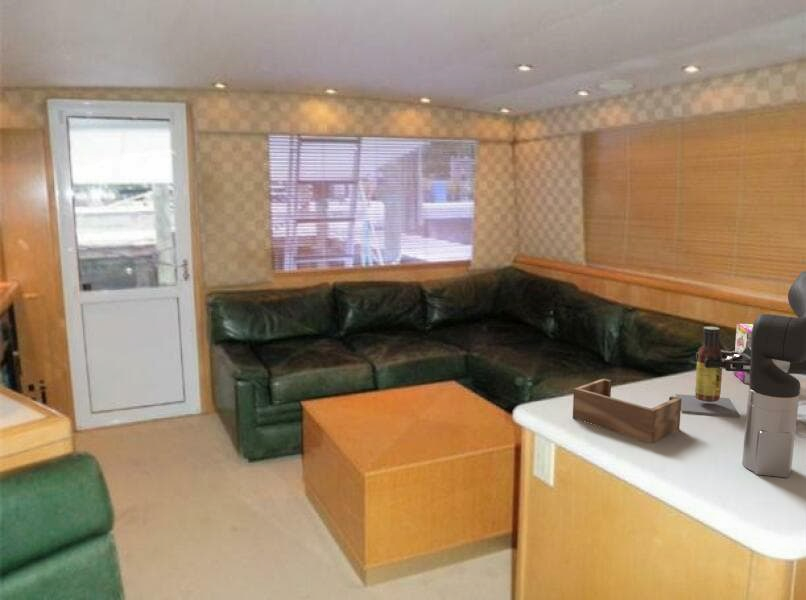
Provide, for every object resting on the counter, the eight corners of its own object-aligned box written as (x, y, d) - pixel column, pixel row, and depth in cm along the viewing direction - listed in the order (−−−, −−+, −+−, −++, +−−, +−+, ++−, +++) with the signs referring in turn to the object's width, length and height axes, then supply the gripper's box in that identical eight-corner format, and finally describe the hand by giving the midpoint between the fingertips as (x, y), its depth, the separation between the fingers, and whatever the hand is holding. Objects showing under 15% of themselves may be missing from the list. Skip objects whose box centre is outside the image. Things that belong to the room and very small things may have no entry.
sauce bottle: (720, 404, 171) (725, 331, 167) (694, 401, 174) (699, 330, 170) (719, 396, 177) (724, 326, 173) (694, 393, 179) (699, 324, 176)
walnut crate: (601, 406, 176) (603, 378, 175) (679, 429, 160) (681, 398, 158) (572, 417, 168) (573, 388, 166) (651, 443, 151) (653, 411, 150)
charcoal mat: (739, 417, 167) (740, 415, 167) (681, 412, 171) (681, 410, 171) (728, 400, 180) (729, 398, 180) (675, 396, 184) (675, 394, 184)
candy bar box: (731, 373, 205) (736, 323, 202) (748, 374, 204) (753, 323, 201) (742, 383, 195) (747, 331, 192) (760, 384, 194) (765, 331, 191)
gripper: (755, 340, 178) (692, 339, 180) (779, 354, 164) (711, 353, 166) (753, 366, 179) (690, 365, 181) (777, 382, 165) (709, 381, 167)
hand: (700, 359), depth 173 cm, fingers closed on sauce bottle, 6 cm apart
